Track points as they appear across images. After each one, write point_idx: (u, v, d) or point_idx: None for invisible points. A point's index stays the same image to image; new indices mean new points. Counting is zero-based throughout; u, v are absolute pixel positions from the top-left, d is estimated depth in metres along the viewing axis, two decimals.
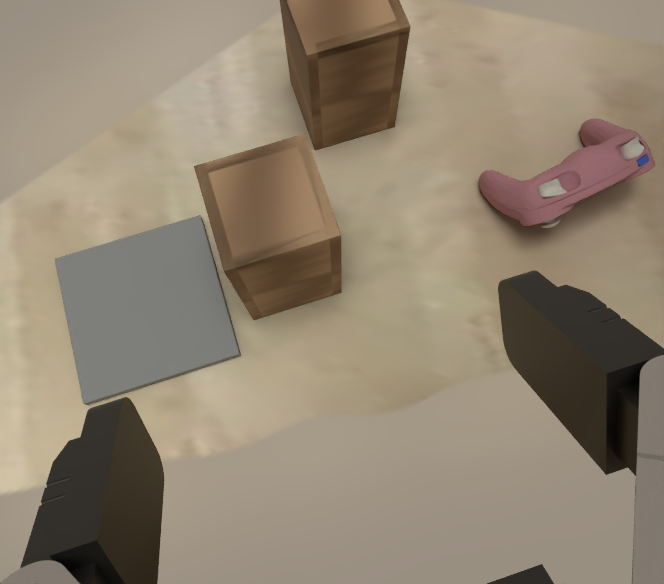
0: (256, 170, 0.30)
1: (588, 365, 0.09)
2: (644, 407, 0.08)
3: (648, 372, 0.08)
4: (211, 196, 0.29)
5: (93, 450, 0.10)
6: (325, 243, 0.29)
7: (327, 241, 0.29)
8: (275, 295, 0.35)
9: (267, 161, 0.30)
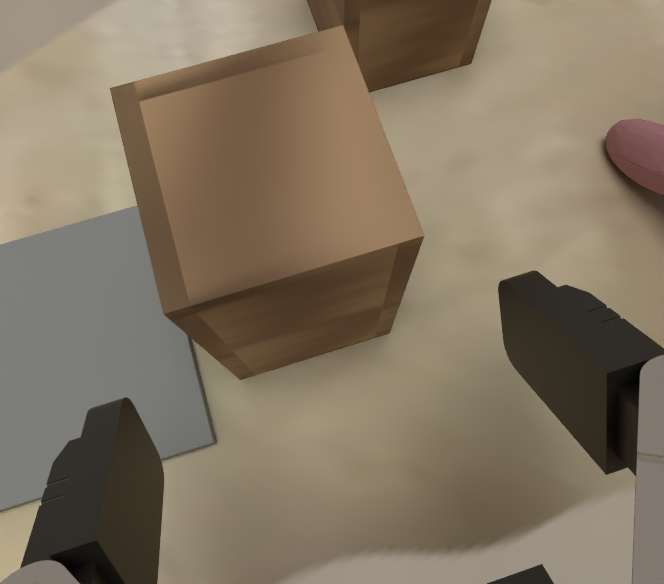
0: (240, 97, 0.14)
1: (588, 365, 0.09)
2: (644, 407, 0.08)
3: (648, 372, 0.08)
4: (143, 149, 0.14)
5: (93, 450, 0.10)
6: (387, 253, 0.13)
7: (393, 249, 0.13)
8: (278, 346, 0.19)
9: (264, 79, 0.14)
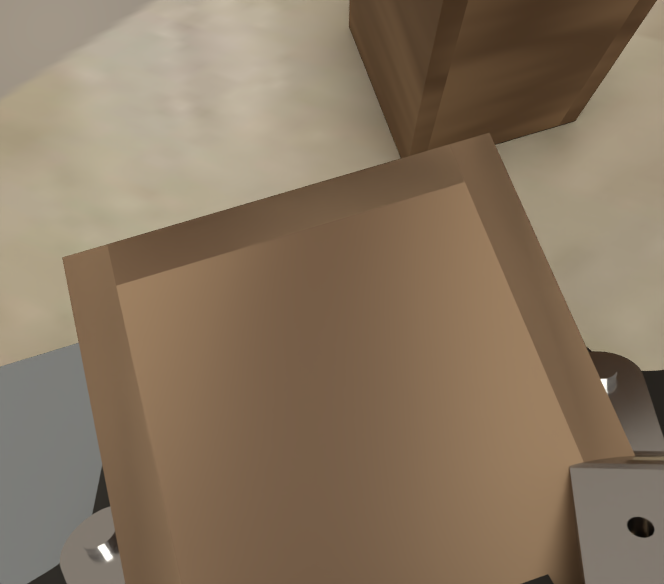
0: (308, 278, 0.07)
1: None
2: None
3: None
4: (124, 387, 0.07)
5: None
6: None
7: None
8: None
9: (351, 240, 0.08)
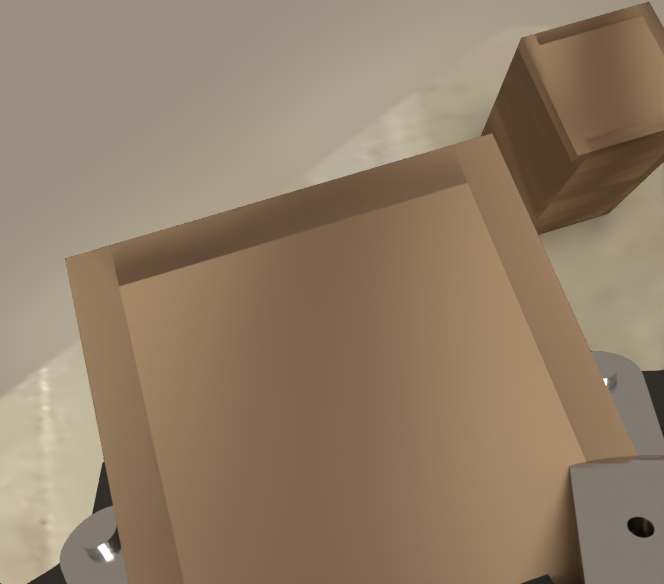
0: (311, 278, 0.07)
1: None
2: None
3: None
4: (127, 388, 0.07)
5: None
6: None
7: None
8: None
9: (353, 241, 0.08)
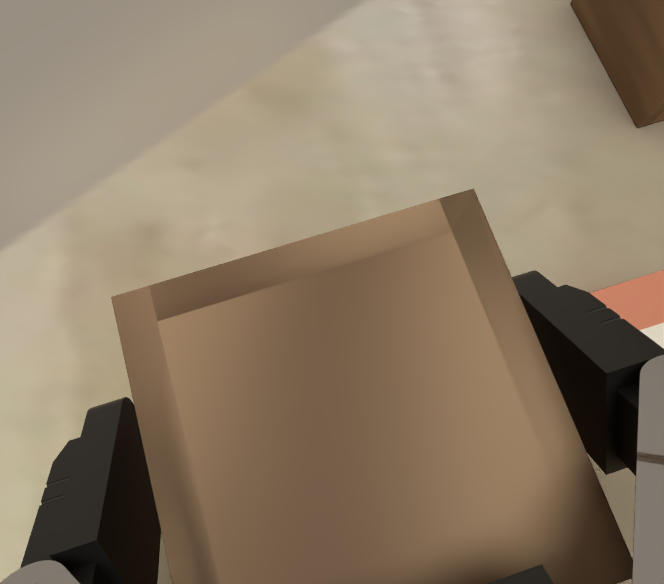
0: (319, 314, 0.09)
1: (588, 365, 0.09)
2: (644, 407, 0.08)
3: (648, 372, 0.08)
4: (165, 408, 0.09)
5: (93, 450, 0.10)
6: None
7: None
8: None
9: (355, 282, 0.09)
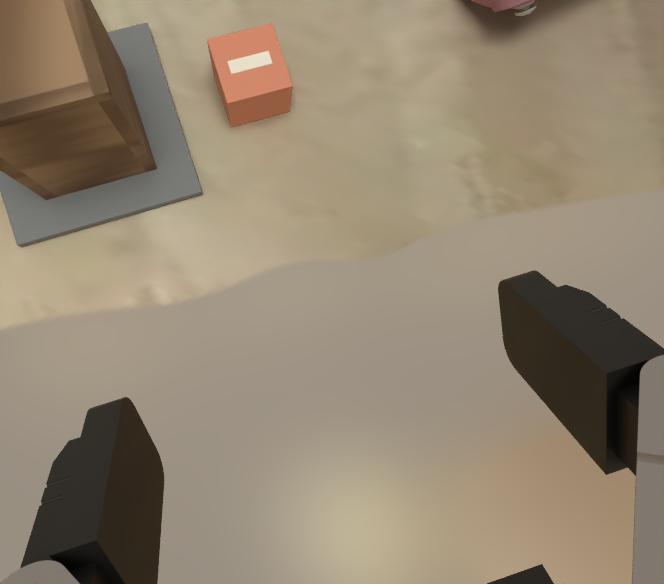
0: None
1: (588, 364, 0.09)
2: (644, 407, 0.08)
3: (648, 372, 0.08)
4: None
5: (93, 450, 0.10)
6: (91, 102, 0.22)
7: (92, 99, 0.22)
8: (59, 170, 0.28)
9: None
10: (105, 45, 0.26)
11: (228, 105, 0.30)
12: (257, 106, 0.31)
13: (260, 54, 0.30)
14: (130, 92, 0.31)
